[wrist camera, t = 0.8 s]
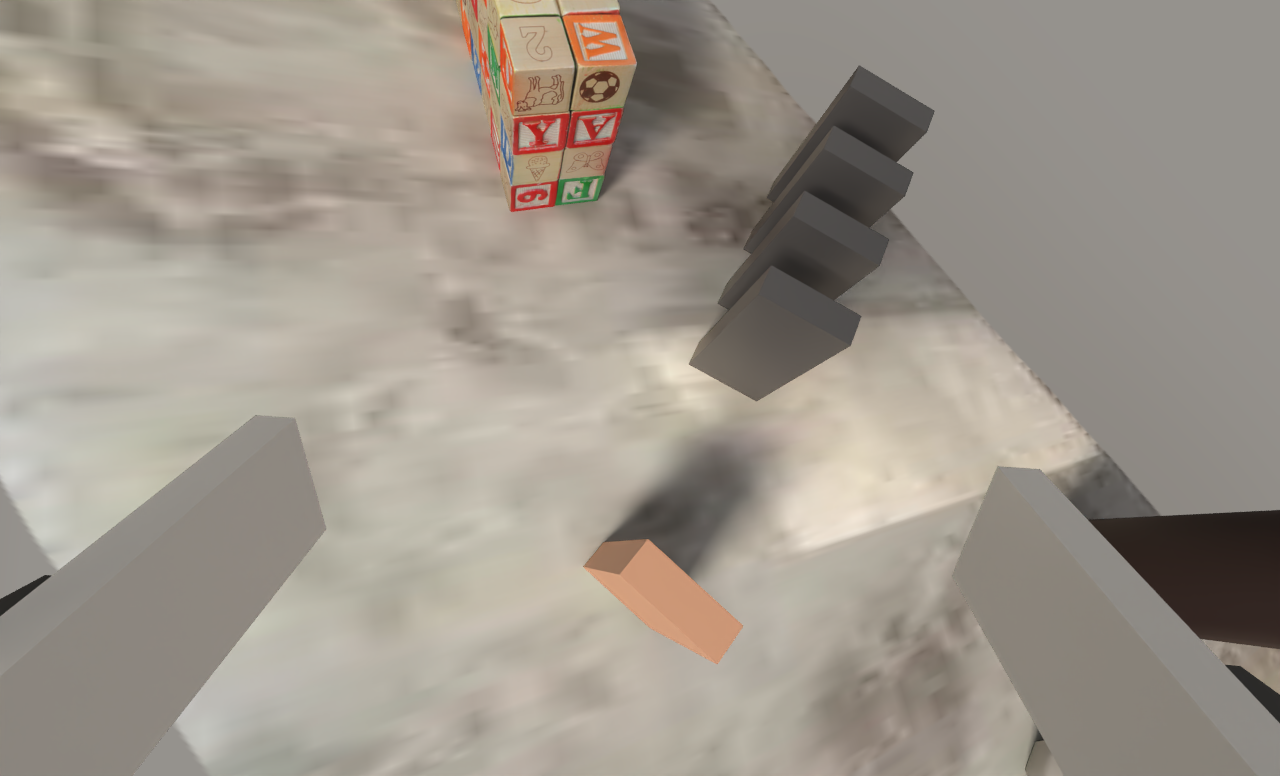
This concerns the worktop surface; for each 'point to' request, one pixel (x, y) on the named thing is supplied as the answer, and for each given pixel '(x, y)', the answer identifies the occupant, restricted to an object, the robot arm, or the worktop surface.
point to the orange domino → (664, 596)
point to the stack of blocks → (550, 92)
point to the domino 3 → (812, 251)
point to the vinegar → (1209, 569)
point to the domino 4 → (774, 335)
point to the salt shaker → (1042, 762)
